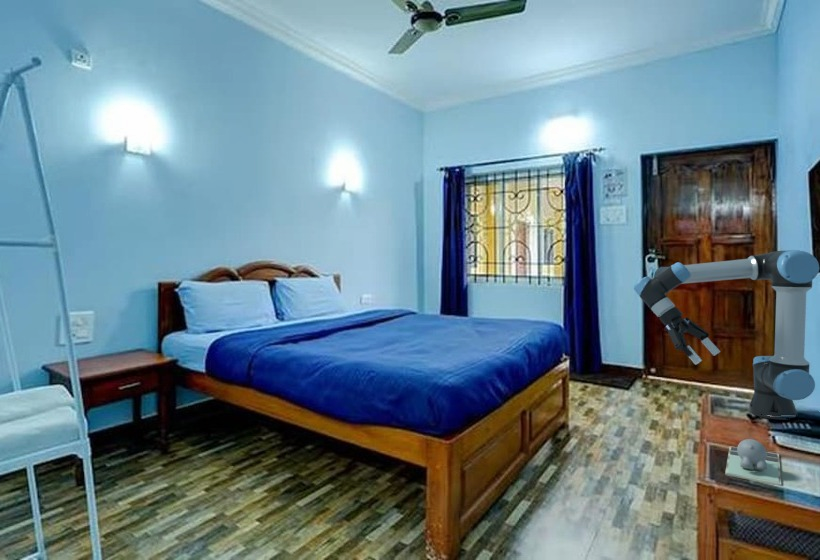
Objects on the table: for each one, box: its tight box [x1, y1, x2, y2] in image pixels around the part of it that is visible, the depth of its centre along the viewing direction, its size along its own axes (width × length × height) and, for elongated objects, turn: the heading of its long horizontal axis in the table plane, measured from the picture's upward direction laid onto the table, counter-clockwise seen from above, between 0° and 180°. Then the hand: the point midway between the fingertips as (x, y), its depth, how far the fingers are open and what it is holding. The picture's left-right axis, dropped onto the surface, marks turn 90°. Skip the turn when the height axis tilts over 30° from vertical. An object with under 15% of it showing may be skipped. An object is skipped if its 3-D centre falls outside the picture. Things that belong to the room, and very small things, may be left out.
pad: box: [727, 455, 779, 483], centre depth 142 cm, size 15×12×1 cm
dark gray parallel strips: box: [730, 446, 778, 462], centre depth 152 cm, size 6×12×1 cm, turn 53°
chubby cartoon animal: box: [736, 438, 768, 470], centre depth 143 cm, size 7×12×8 cm, turn 152°
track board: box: [724, 445, 782, 487], centre depth 145 cm, size 24×13×1 cm, turn 143°
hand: (708, 358), depth 173 cm, fingers open, 13 cm apart
